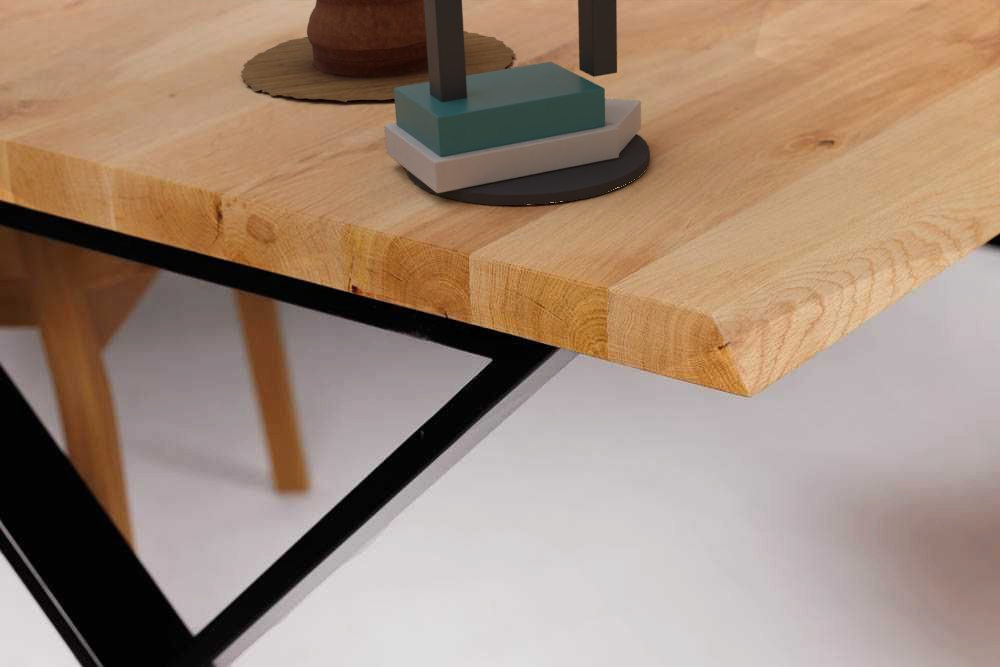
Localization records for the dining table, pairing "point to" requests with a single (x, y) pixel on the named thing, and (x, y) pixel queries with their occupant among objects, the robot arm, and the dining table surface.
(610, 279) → the dining table surface
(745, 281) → the dining table surface
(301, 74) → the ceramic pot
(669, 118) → the dining table surface
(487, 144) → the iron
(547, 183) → the swivel rest
